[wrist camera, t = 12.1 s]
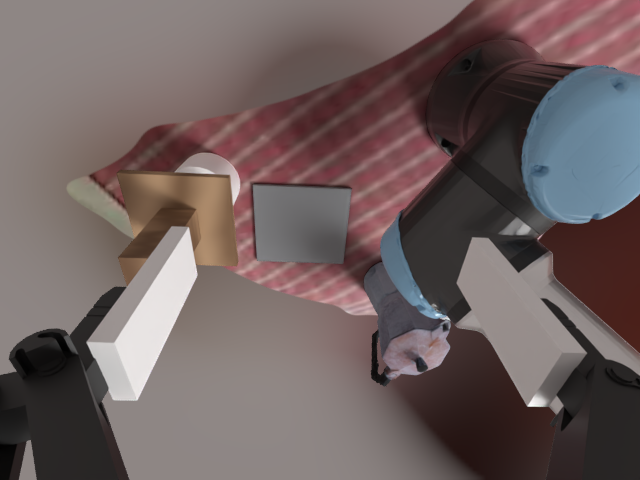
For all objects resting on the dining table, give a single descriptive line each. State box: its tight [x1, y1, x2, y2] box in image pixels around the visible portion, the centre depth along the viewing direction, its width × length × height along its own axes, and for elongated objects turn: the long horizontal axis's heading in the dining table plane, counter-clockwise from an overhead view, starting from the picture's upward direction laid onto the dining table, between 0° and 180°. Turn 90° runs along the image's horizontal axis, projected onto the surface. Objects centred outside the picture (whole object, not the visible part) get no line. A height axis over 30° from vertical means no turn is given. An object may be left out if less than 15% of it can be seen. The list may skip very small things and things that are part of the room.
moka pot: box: [364, 262, 450, 386], centre depth 53 cm, size 10×15×20 cm, turn 149°
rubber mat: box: [253, 184, 352, 264], centre depth 54 cm, size 15×14×1 cm
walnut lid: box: [117, 170, 238, 286], centre depth 36 cm, size 12×12×11 cm
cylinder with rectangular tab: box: [175, 153, 240, 205], centre depth 45 cm, size 9×9×12 cm
